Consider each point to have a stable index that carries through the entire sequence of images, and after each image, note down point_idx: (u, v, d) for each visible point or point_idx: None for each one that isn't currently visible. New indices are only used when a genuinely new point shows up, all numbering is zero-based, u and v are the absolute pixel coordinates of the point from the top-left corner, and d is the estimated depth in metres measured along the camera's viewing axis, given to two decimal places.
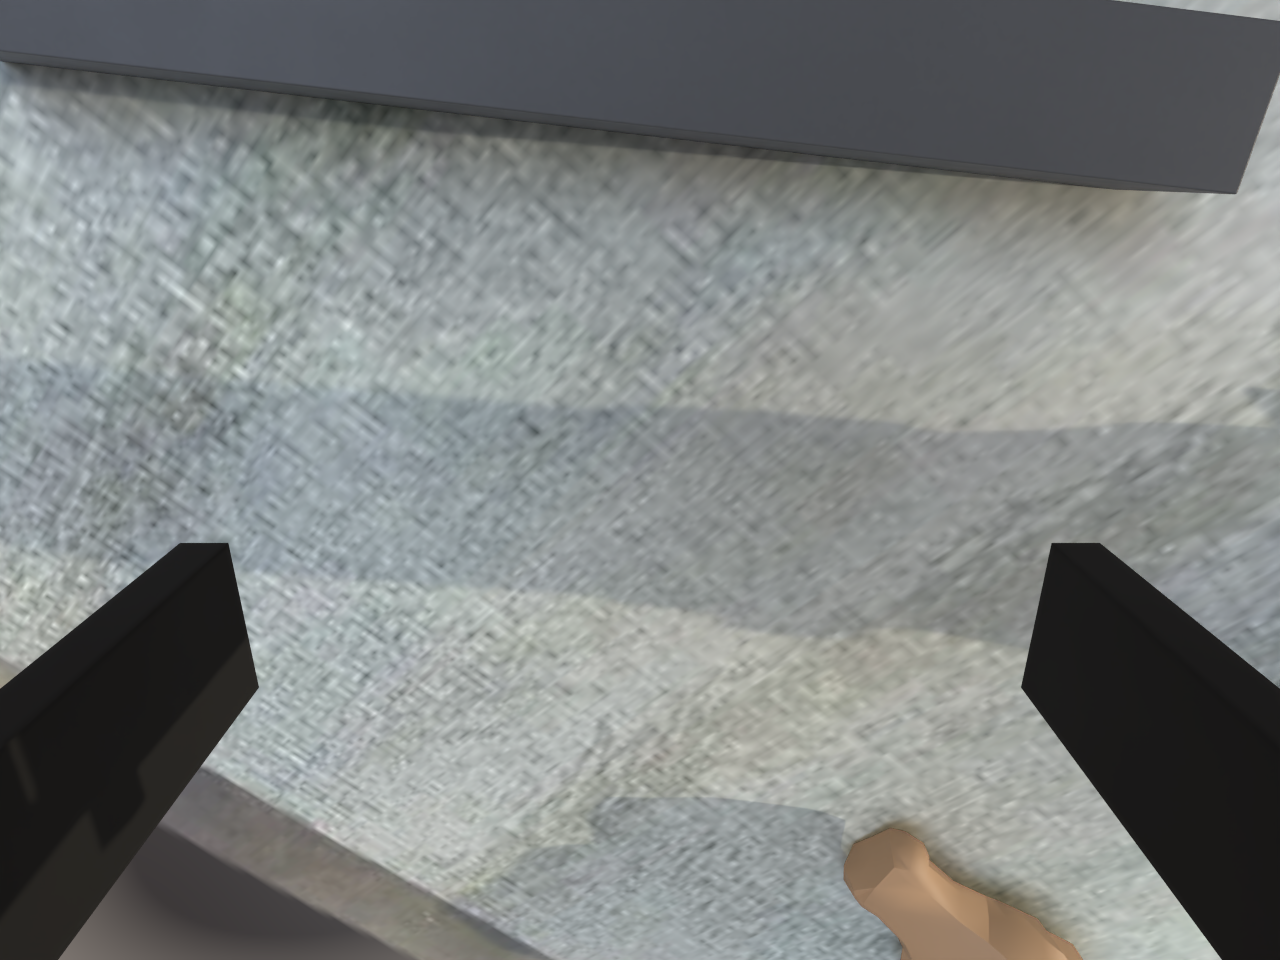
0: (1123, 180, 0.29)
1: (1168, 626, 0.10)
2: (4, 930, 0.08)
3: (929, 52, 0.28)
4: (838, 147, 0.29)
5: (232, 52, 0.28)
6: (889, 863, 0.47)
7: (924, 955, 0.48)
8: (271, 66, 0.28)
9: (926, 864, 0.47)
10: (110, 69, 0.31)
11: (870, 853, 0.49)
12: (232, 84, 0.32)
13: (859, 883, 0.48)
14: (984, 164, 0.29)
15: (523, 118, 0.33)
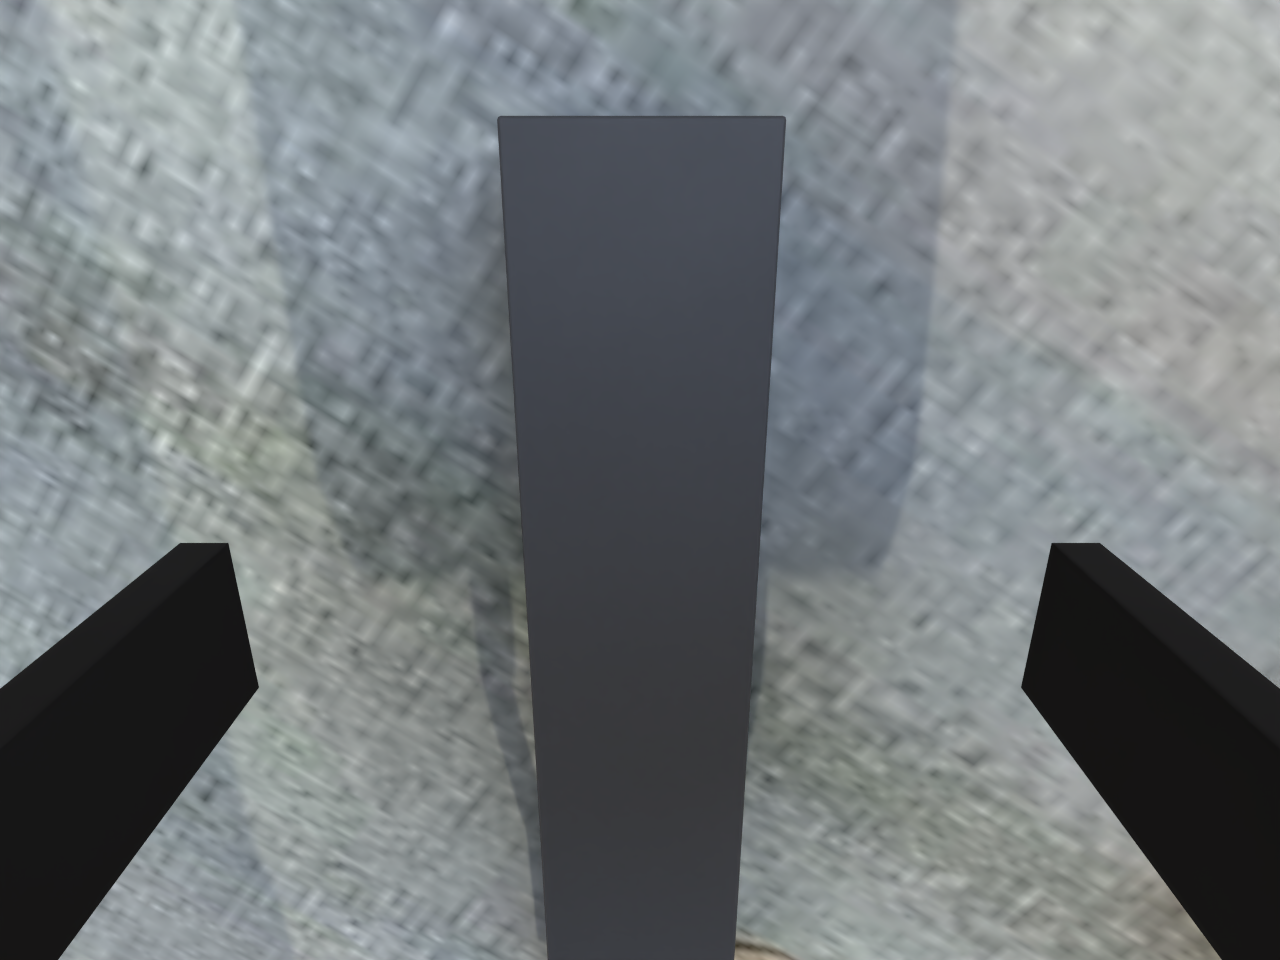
0: None
1: (1168, 626, 0.10)
2: (4, 930, 0.08)
3: None
4: None
5: (563, 711, 0.20)
6: None
7: None
8: (554, 752, 0.21)
9: None
10: None
11: None
12: None
13: None
14: None
15: None
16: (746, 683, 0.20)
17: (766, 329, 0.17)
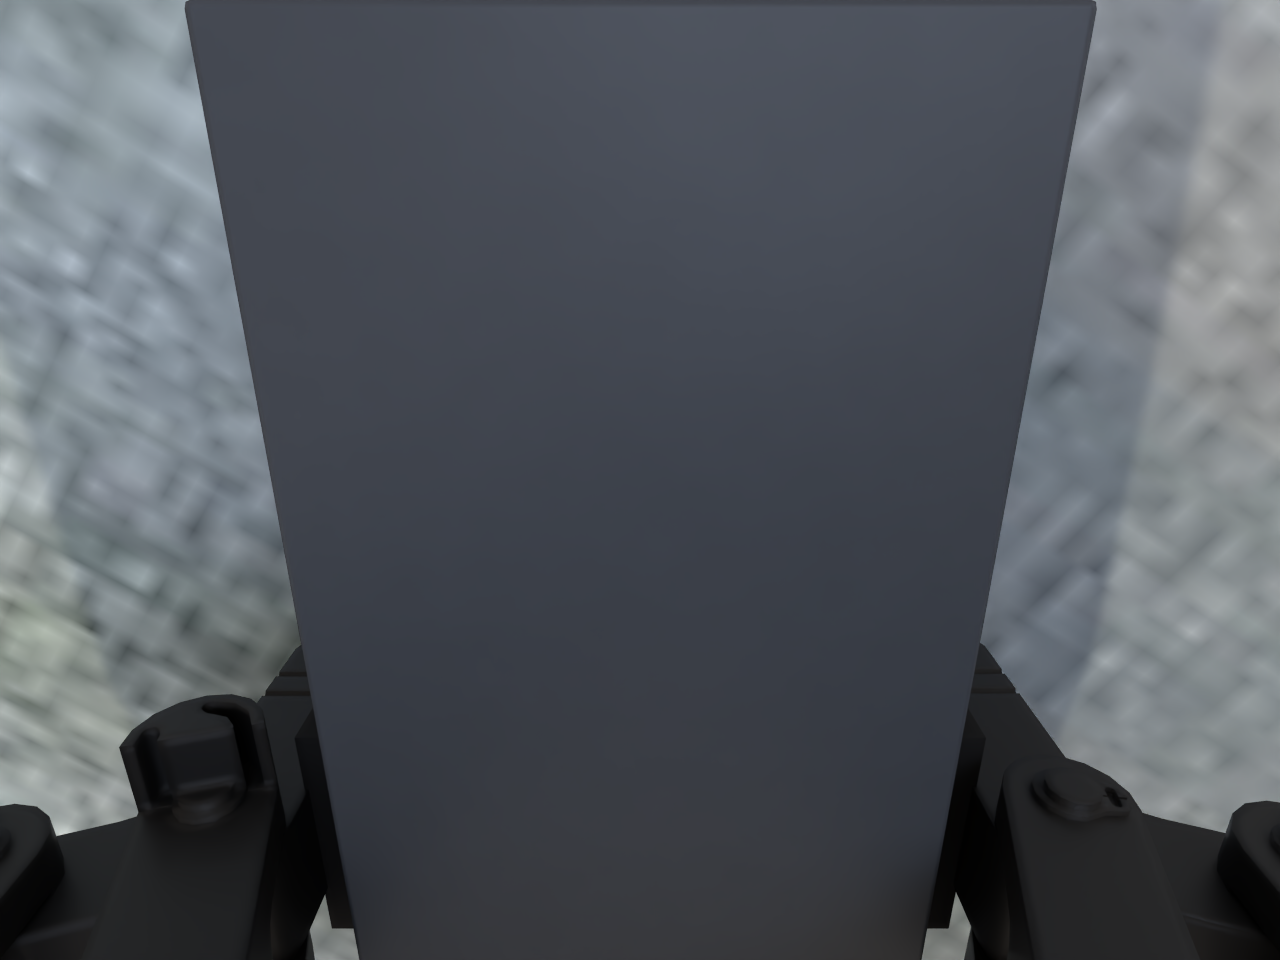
0: None
1: None
2: None
3: None
4: None
5: None
6: None
7: None
8: None
9: None
10: None
11: None
12: None
13: None
14: None
15: None
16: None
17: (975, 594, 0.06)
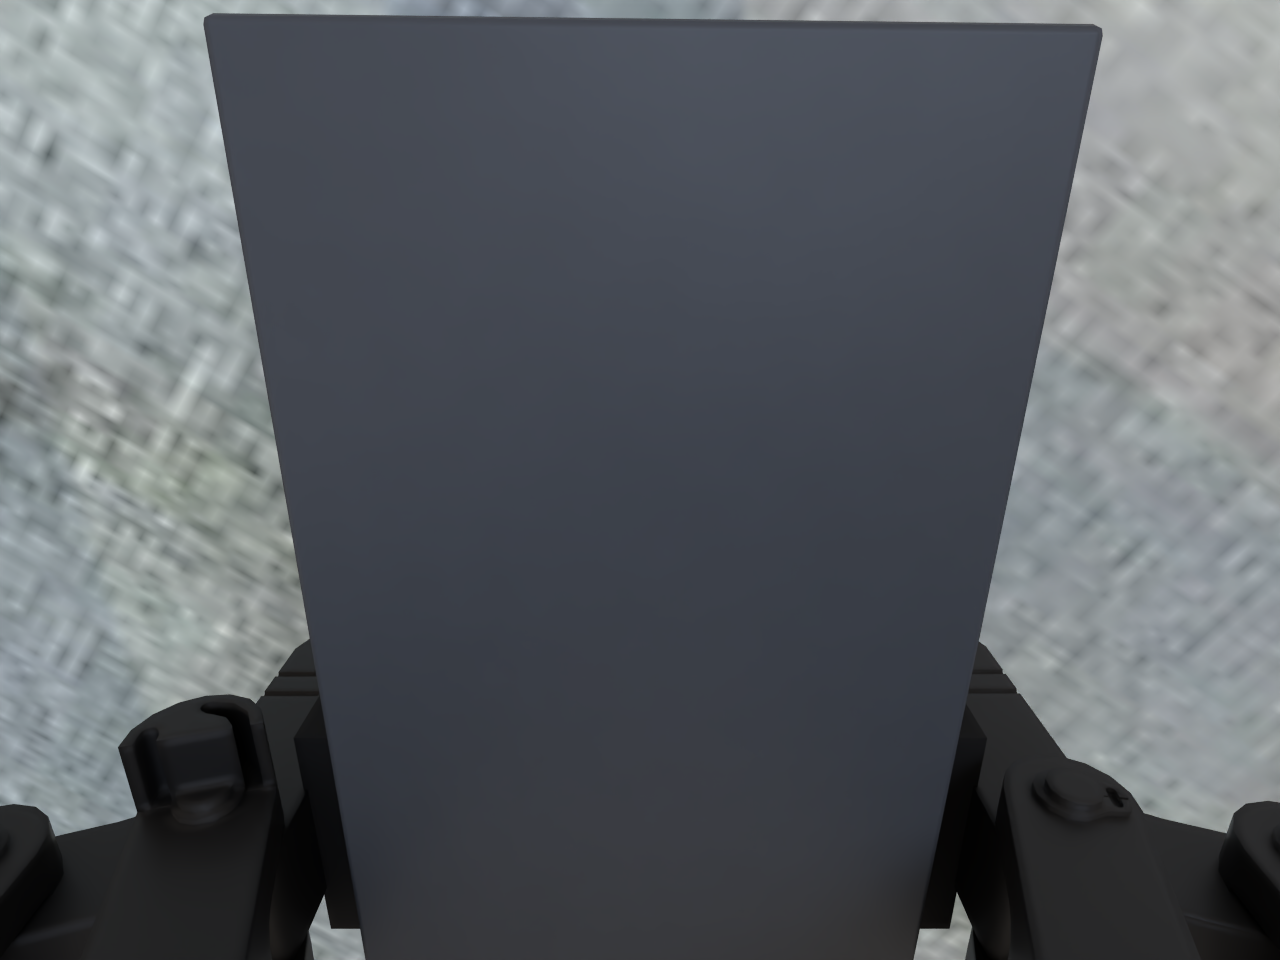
0: None
1: None
2: None
3: None
4: None
5: None
6: None
7: None
8: None
9: None
10: None
11: None
12: None
13: None
14: None
15: None
16: None
17: (972, 604, 0.06)
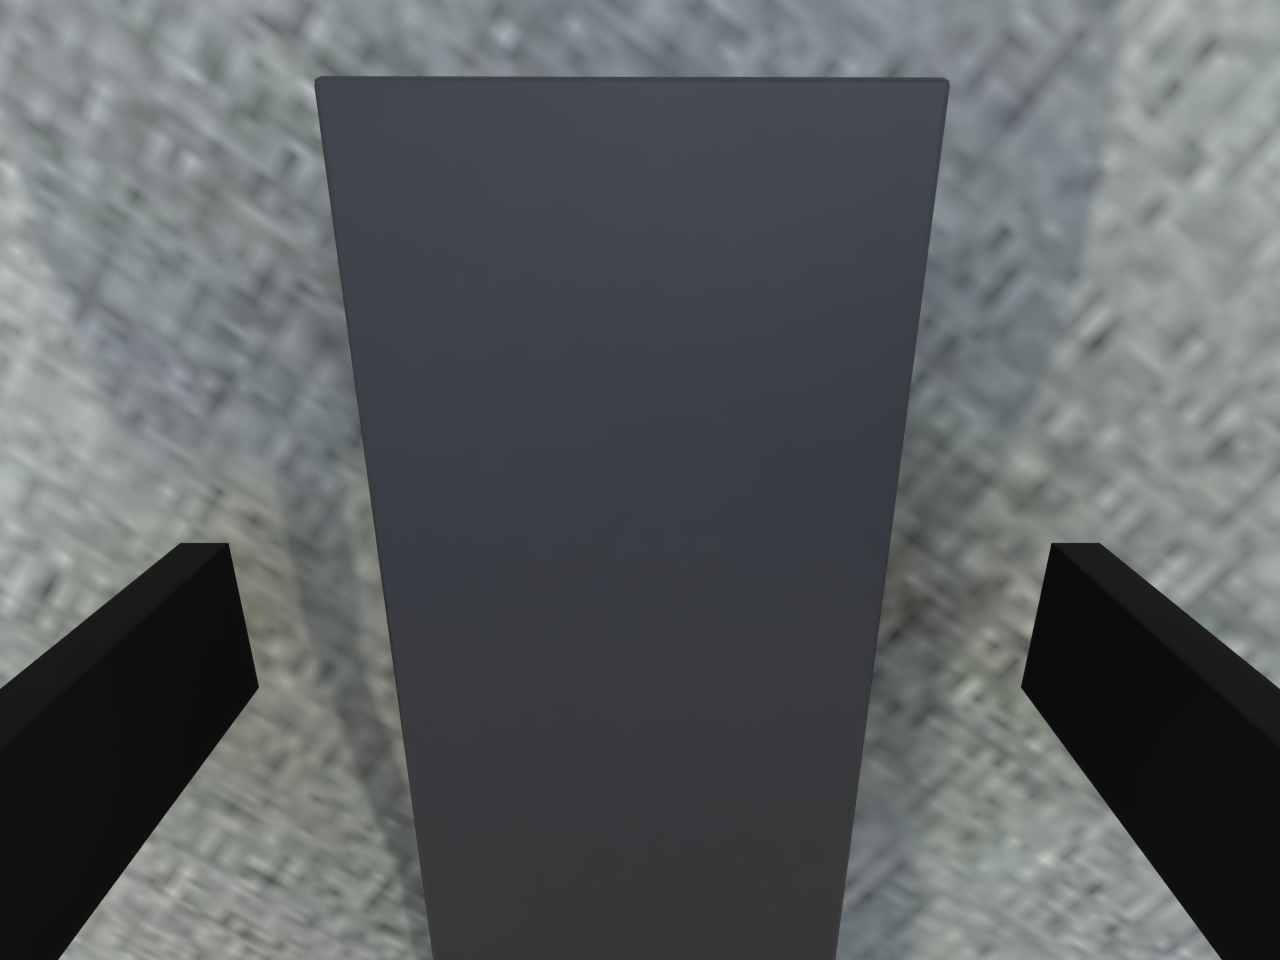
0: None
1: (1168, 626, 0.10)
2: (4, 930, 0.08)
3: None
4: None
5: None
6: None
7: None
8: None
9: None
10: None
11: None
12: None
13: None
14: None
15: None
16: None
17: (883, 509, 0.08)
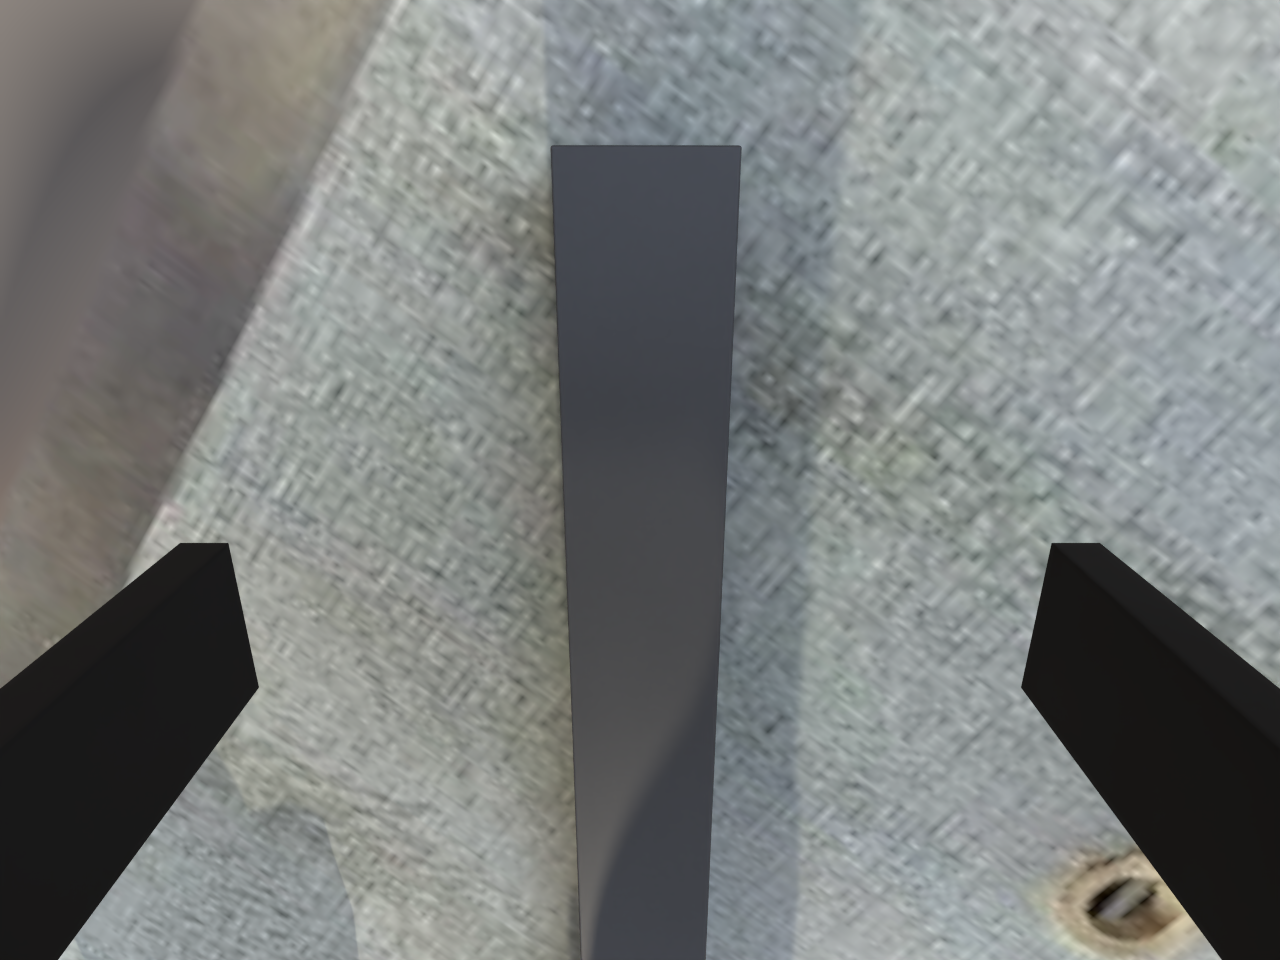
0: None
1: (1168, 626, 0.10)
2: (4, 930, 0.08)
3: None
4: None
5: (589, 569, 0.28)
6: None
7: None
8: (581, 601, 0.29)
9: None
10: None
11: None
12: None
13: None
14: None
15: None
16: (720, 548, 0.28)
17: (731, 289, 0.25)
